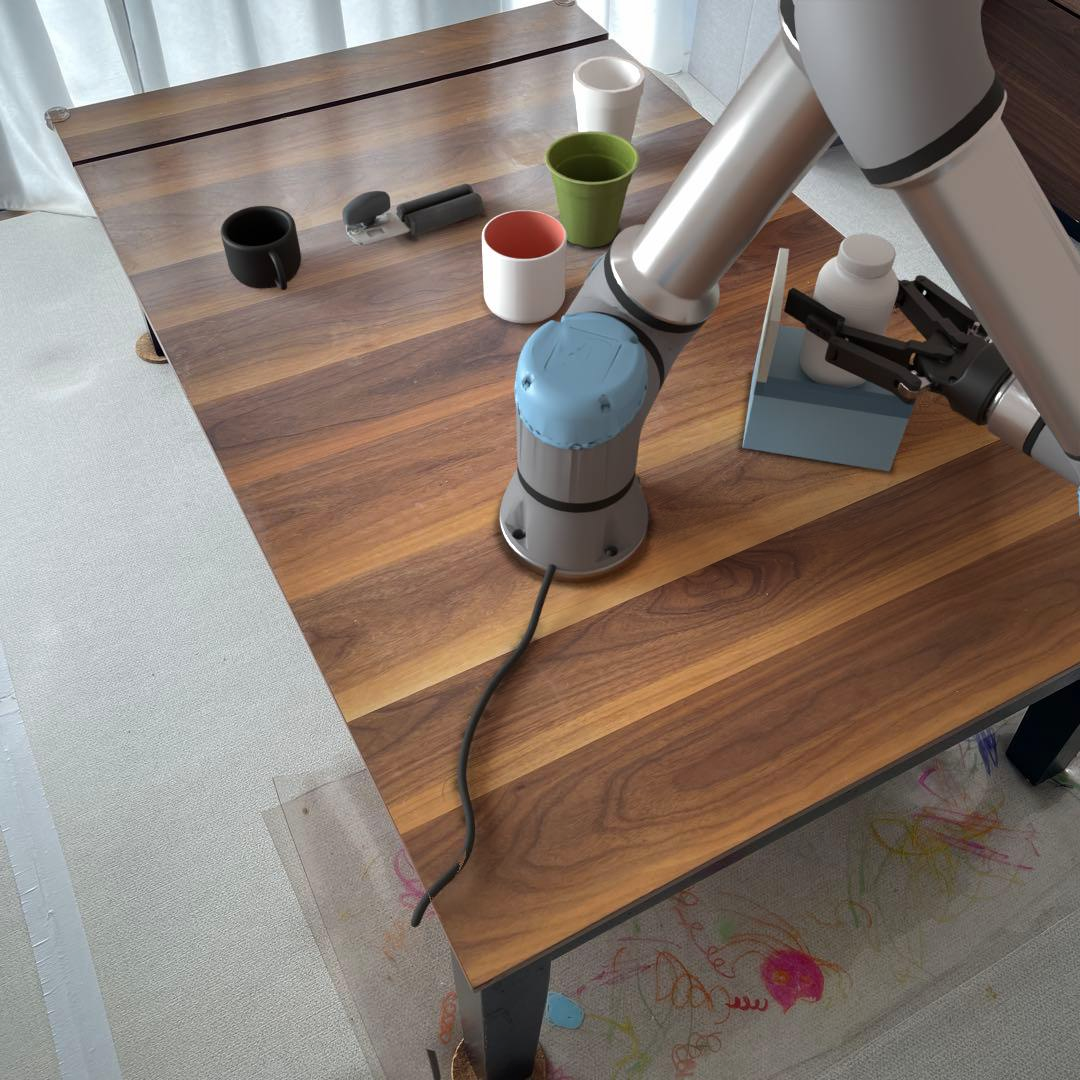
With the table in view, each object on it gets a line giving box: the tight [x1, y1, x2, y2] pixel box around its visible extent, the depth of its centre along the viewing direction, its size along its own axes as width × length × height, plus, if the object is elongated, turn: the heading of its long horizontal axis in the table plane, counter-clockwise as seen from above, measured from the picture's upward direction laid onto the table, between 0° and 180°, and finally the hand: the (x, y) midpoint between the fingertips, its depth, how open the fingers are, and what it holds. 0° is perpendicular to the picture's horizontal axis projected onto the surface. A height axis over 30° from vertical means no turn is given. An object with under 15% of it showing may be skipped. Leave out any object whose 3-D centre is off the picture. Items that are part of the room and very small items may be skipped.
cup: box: [481, 209, 568, 325], centre depth 135 cm, size 10×10×10 cm
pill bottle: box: [800, 232, 899, 388], centre depth 113 cm, size 8×8×15 cm
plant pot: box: [544, 131, 640, 248], centre depth 143 cm, size 12×12×11 cm
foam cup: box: [572, 55, 646, 144], centre depth 153 cm, size 10×9×13 cm
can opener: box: [341, 183, 484, 247], centre depth 145 cm, size 19×5×6 cm, turn 121°
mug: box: [220, 205, 302, 291], centre depth 138 cm, size 12×9×7 cm
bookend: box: [741, 247, 915, 472], centre depth 119 cm, size 12×16×18 cm
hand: (815, 281), depth 115 cm, fingers closed on pill bottle, 8 cm apart
